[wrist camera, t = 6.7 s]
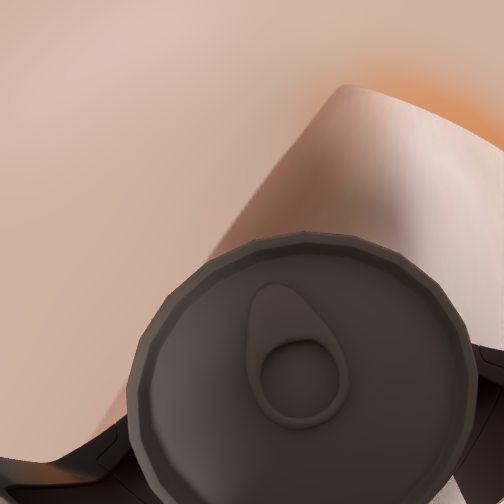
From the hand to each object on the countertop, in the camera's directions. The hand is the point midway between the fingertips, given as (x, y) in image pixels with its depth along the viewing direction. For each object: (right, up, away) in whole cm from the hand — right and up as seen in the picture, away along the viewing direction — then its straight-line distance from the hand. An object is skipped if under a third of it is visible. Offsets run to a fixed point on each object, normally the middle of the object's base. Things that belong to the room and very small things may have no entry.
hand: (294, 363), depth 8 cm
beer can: (+1, -5, +5) cm, 7 cm away
